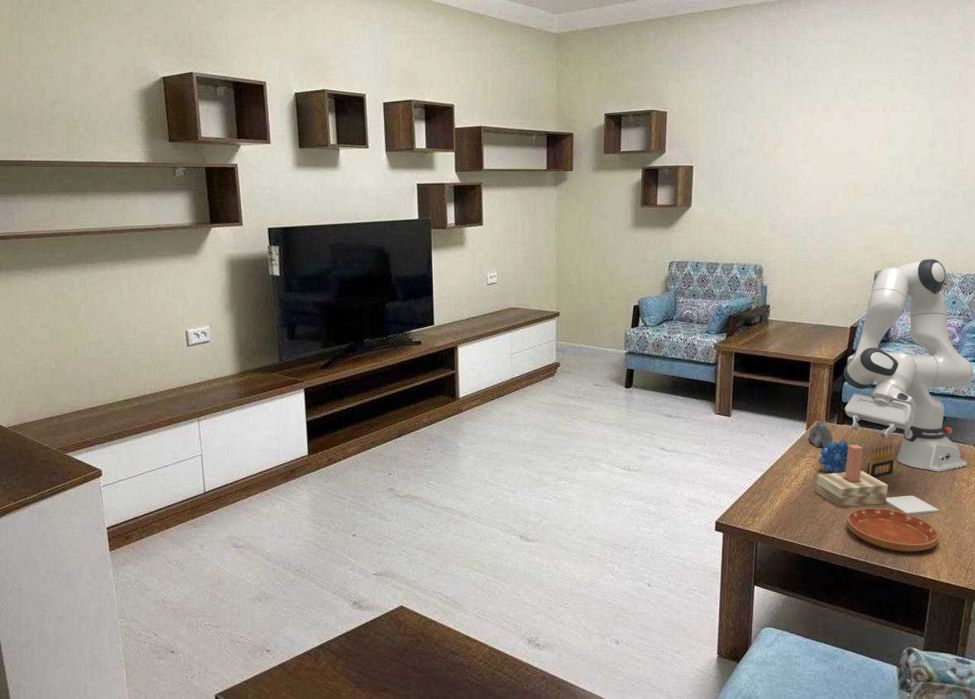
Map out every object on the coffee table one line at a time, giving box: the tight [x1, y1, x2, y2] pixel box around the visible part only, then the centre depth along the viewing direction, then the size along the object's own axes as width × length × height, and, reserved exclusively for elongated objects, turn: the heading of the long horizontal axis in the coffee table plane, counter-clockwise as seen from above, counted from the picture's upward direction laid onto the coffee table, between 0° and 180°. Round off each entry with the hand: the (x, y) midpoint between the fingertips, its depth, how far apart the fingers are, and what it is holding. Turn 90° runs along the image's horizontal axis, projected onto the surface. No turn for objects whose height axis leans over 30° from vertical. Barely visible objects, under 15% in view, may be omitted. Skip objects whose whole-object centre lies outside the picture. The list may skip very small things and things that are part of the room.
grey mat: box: [885, 495, 940, 515], centre depth 234 cm, size 11×11×1 cm
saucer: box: [846, 507, 940, 553], centre depth 214 cm, size 23×23×4 cm
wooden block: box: [845, 444, 864, 483], centre depth 238 cm, size 3×3×14 cm
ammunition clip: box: [866, 439, 895, 479], centre depth 258 cm, size 11×2×12 cm, turn 116°
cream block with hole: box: [815, 470, 889, 508], centre depth 240 cm, size 17×12×6 cm
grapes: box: [818, 440, 848, 473], centre depth 260 cm, size 12×7×12 cm, turn 63°
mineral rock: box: [808, 418, 834, 449], centre depth 290 cm, size 13×11×10 cm
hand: (868, 432), depth 243 cm, fingers open, 8 cm apart
